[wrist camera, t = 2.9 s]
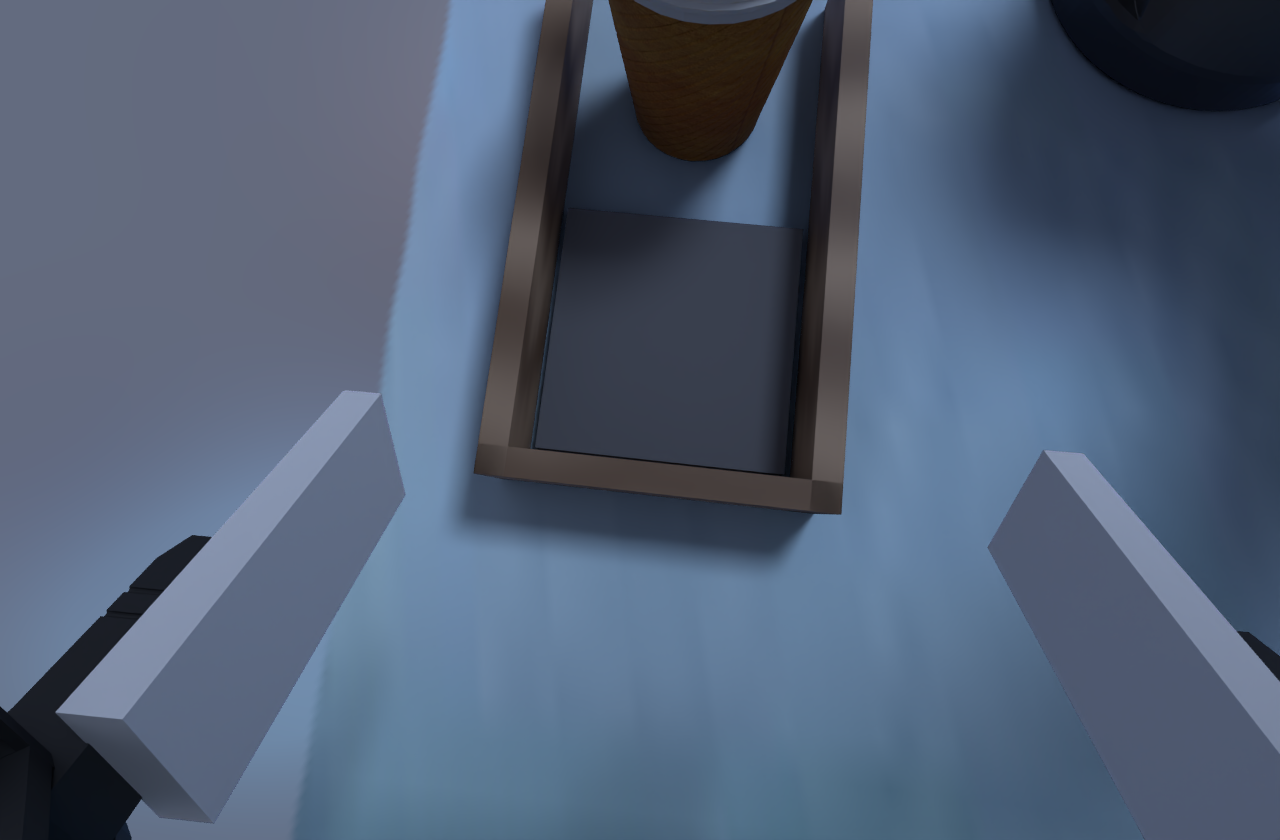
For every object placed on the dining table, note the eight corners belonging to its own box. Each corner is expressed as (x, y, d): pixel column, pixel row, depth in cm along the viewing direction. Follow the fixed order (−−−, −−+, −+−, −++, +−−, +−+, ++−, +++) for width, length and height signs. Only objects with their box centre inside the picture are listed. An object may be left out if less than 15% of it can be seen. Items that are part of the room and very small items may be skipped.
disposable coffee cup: (594, 33, 31) (554, -267, 19) (777, 10, 31) (853, -306, 19) (613, 203, 29) (583, -6, 17) (805, 180, 29) (907, -47, 17)
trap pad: (570, 216, 29) (568, 207, 28) (799, 236, 29) (803, 229, 28) (538, 449, 27) (534, 447, 27) (780, 475, 27) (784, 474, 26)
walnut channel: (571, -10, 31) (559, -86, 27) (848, 10, 30) (876, -64, 26) (500, 478, 27) (473, 473, 23) (814, 513, 27) (841, 514, 23)
